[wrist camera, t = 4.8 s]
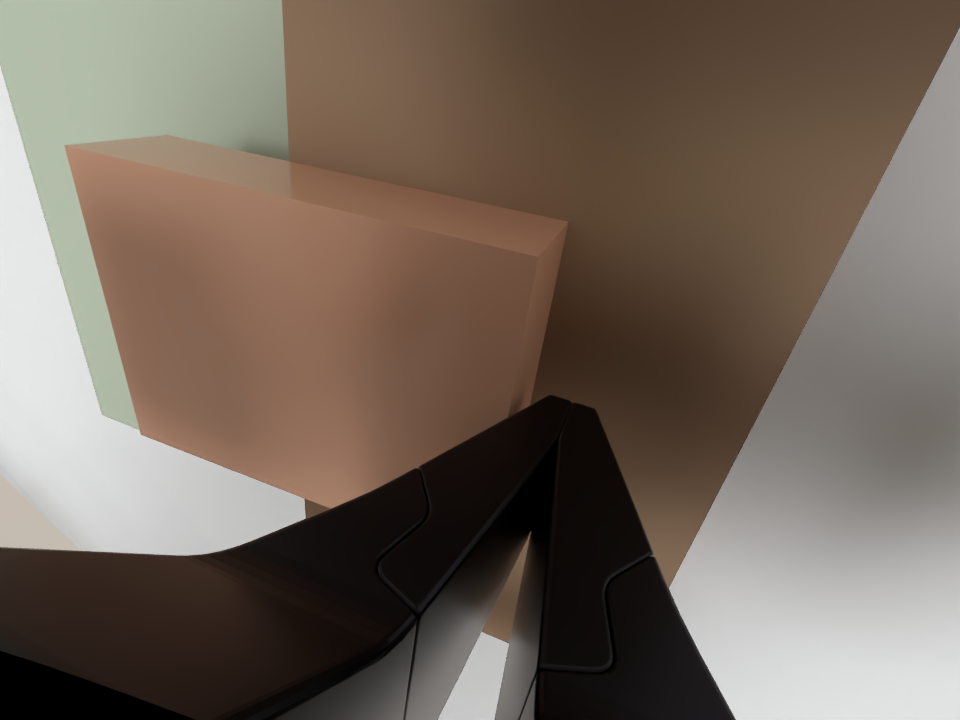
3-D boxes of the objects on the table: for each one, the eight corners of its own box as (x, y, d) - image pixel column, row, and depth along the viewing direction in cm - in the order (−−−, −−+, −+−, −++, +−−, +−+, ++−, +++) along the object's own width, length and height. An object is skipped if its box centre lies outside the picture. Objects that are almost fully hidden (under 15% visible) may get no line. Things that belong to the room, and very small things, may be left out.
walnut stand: (625, 605, 15) (616, 689, 13) (353, 498, 17) (307, 556, 15) (964, -124, 7) (1083, -212, 5) (368, -164, 9) (271, -241, 7)
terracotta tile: (510, 495, 11) (480, 566, 10) (210, 390, 13) (140, 434, 11) (568, 221, 8) (538, 257, 7) (167, 134, 10) (64, 145, 8)
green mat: (343, 494, 17) (332, 506, 17) (117, 406, 19) (101, 414, 19) (347, -167, 9) (327, -181, 8) (-45, -194, 11) (-80, -208, 11)
